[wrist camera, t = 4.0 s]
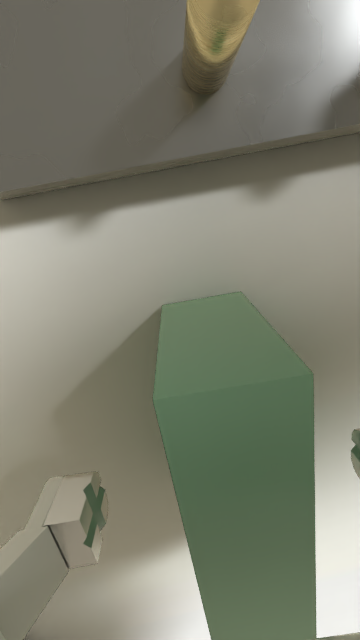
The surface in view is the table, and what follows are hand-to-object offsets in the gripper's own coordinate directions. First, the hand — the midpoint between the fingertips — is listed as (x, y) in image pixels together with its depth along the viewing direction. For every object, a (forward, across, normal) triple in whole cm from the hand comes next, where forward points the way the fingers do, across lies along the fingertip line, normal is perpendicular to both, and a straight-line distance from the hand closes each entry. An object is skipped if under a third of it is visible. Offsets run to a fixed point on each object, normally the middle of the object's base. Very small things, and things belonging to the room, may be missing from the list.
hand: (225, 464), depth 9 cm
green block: (+4, 0, 0) cm, 4 cm away
